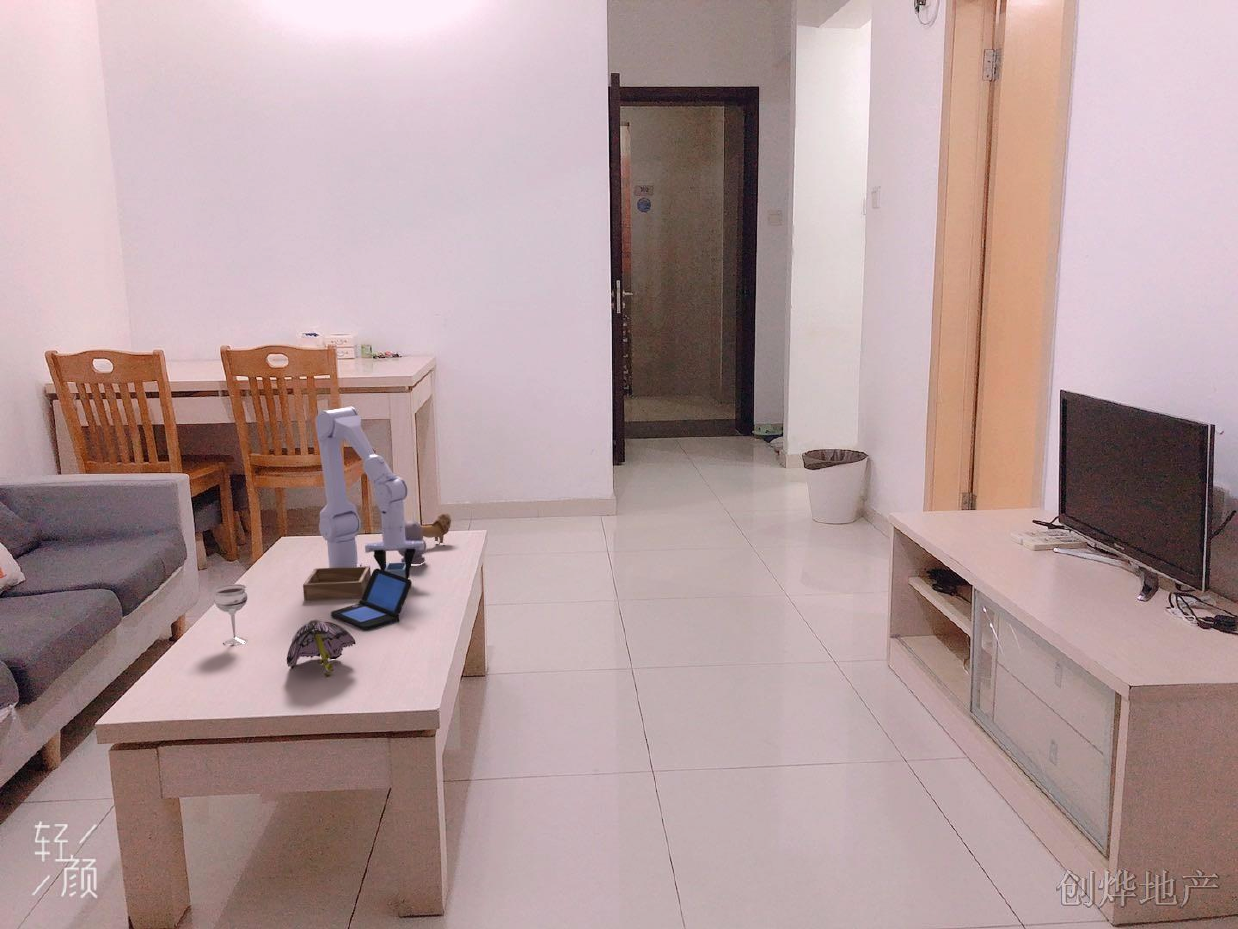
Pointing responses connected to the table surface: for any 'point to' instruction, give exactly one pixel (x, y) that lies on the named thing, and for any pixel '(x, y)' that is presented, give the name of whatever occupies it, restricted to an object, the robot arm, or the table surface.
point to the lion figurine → (438, 528)
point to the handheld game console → (377, 602)
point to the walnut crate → (336, 583)
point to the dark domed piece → (319, 643)
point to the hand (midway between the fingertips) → (396, 577)
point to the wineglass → (231, 604)
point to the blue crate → (397, 569)
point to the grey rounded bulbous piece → (414, 534)
